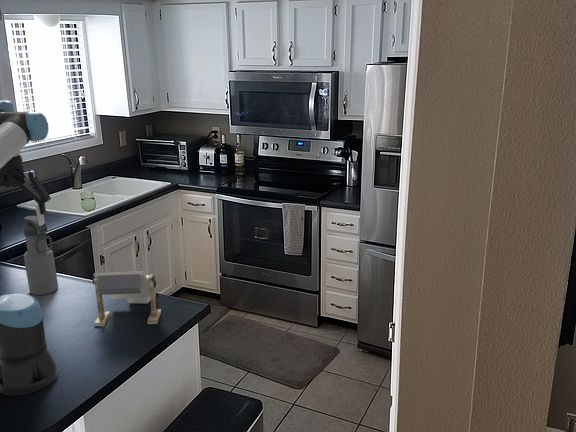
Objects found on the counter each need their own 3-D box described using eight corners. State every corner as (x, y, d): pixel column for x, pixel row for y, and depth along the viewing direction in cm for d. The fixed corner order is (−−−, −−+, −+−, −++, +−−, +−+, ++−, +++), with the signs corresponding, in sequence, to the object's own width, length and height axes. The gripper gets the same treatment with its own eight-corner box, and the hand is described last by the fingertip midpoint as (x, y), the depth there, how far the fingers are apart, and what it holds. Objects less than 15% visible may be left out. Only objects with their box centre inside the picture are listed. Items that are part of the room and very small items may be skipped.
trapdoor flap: (142, 287, 167) (143, 270, 169) (92, 289, 166) (94, 272, 168) (154, 308, 185) (155, 293, 188) (109, 310, 184) (111, 295, 187)
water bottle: (64, 288, 203) (53, 216, 195) (40, 298, 195) (28, 224, 187) (48, 282, 208) (36, 212, 200) (24, 292, 201) (11, 219, 192)
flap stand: (157, 323, 176) (153, 281, 171) (94, 326, 175) (88, 283, 170) (161, 312, 183) (157, 271, 179) (101, 315, 182) (95, 273, 178)
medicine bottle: (127, 303, 189) (139, 291, 201) (147, 303, 188) (158, 292, 200) (126, 283, 187) (138, 272, 199) (146, 284, 187) (157, 273, 199)
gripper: (55, 151, 162) (65, 220, 168) (-31, 153, 161) (-18, 222, 167) (45, 156, 155) (56, 227, 161) (-44, 158, 154) (-30, 230, 160)
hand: (18, 225), depth 164 cm, fingers open, 13 cm apart
